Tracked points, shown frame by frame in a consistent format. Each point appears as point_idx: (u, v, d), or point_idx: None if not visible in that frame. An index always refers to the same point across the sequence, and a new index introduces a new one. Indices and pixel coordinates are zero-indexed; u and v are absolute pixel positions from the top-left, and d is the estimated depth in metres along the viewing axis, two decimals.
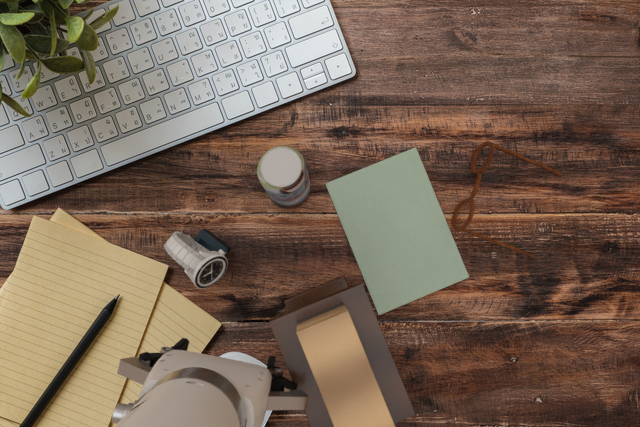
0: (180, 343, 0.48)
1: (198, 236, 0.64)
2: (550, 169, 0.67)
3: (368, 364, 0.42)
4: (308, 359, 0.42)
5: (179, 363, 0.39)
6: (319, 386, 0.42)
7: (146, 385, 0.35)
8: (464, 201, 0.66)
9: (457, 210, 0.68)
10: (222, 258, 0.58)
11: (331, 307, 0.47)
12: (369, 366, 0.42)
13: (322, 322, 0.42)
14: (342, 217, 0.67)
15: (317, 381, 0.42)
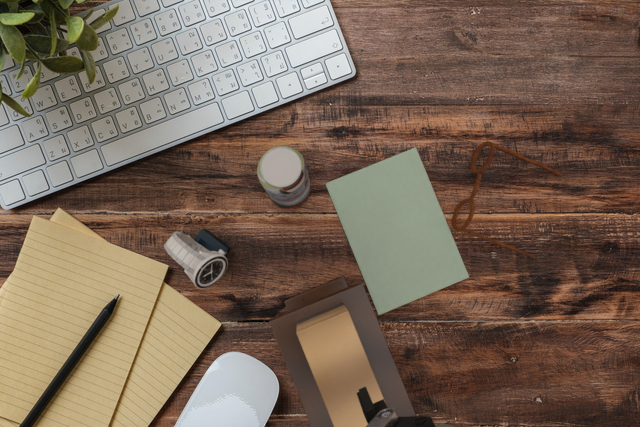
0: None
1: (198, 236, 0.64)
2: (550, 169, 0.67)
3: (368, 364, 0.42)
4: (308, 359, 0.42)
5: None
6: (319, 386, 0.42)
7: None
8: (464, 201, 0.66)
9: (457, 210, 0.68)
10: (222, 258, 0.58)
11: (331, 307, 0.47)
12: (369, 366, 0.42)
13: (322, 322, 0.42)
14: (342, 217, 0.67)
15: (317, 381, 0.42)
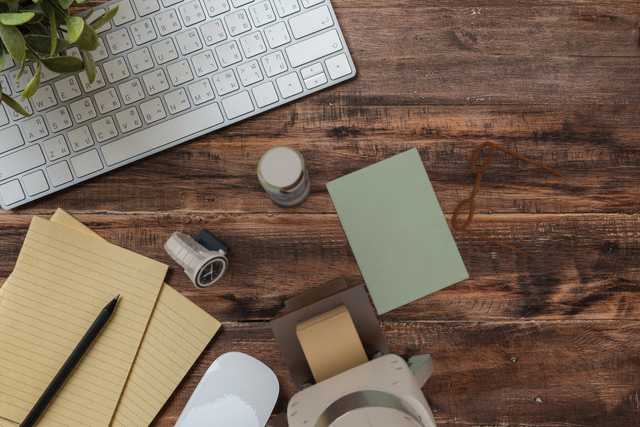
0: (310, 374, 0.44)
1: (198, 236, 0.64)
2: (550, 169, 0.67)
3: None
4: (308, 359, 0.42)
5: (312, 406, 0.34)
6: None
7: None
8: (464, 201, 0.66)
9: (457, 210, 0.68)
10: (222, 258, 0.58)
11: (331, 307, 0.47)
12: None
13: (322, 322, 0.42)
14: (342, 217, 0.67)
15: (317, 381, 0.42)
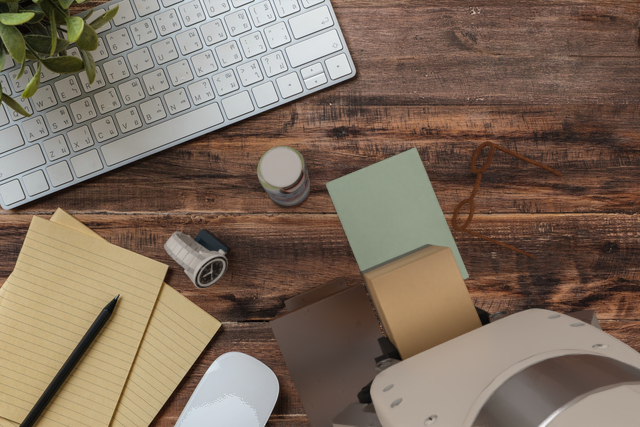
0: (388, 345, 0.29)
1: (198, 236, 0.64)
2: (550, 169, 0.67)
3: None
4: (389, 321, 0.27)
5: (431, 389, 0.19)
6: None
7: None
8: (464, 201, 0.66)
9: (457, 210, 0.68)
10: (222, 258, 0.58)
11: (411, 250, 0.32)
12: None
13: (410, 264, 0.27)
14: (342, 217, 0.67)
15: (403, 355, 0.27)
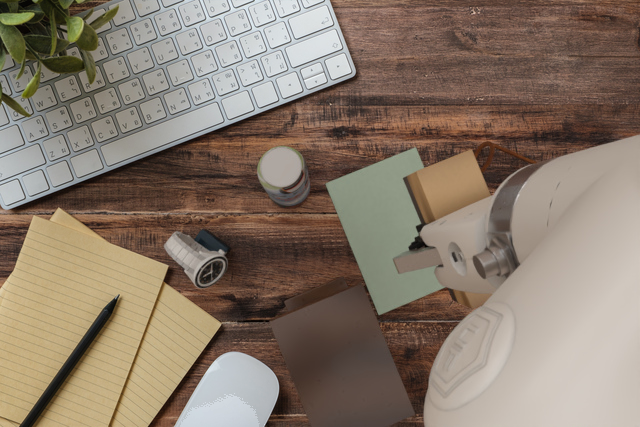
0: (426, 224, 0.40)
1: (198, 236, 0.64)
2: None
3: None
4: (429, 200, 0.39)
5: (465, 210, 0.30)
6: None
7: (475, 230, 0.26)
8: None
9: None
10: (222, 258, 0.58)
11: None
12: None
13: (444, 161, 0.39)
14: (342, 217, 0.67)
15: None
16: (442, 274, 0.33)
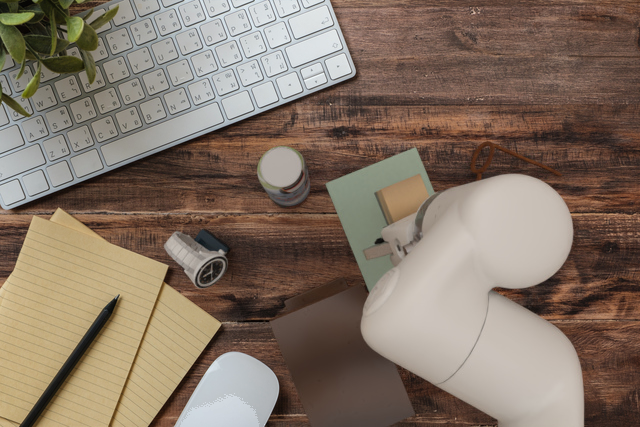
0: None
1: (198, 236, 0.64)
2: (550, 169, 0.67)
3: None
4: (390, 210, 0.55)
5: (406, 218, 0.47)
6: None
7: (406, 231, 0.43)
8: None
9: None
10: (222, 258, 0.58)
11: None
12: None
13: (400, 182, 0.55)
14: (342, 217, 0.67)
15: None
16: (393, 260, 0.49)
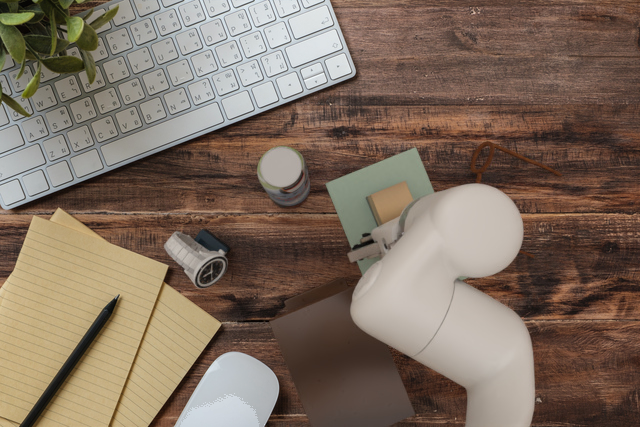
0: (366, 233, 0.63)
1: (198, 236, 0.64)
2: (550, 169, 0.67)
3: None
4: (378, 212, 0.63)
5: (392, 220, 0.54)
6: None
7: (392, 231, 0.50)
8: None
9: None
10: (222, 258, 0.58)
11: None
12: None
13: (388, 188, 0.63)
14: (342, 217, 0.67)
15: None
16: (381, 257, 0.56)
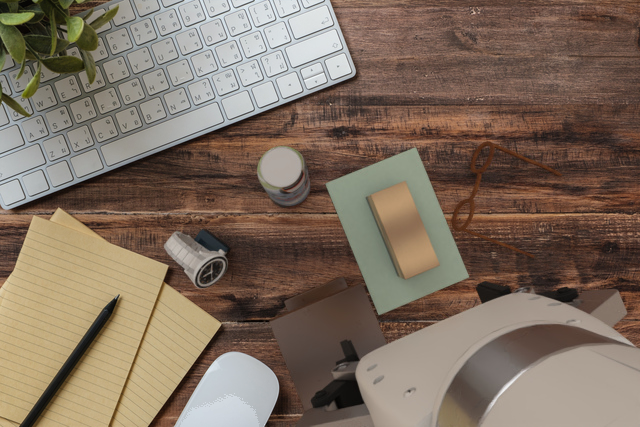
0: (348, 349, 0.28)
1: (198, 236, 0.64)
2: (550, 169, 0.67)
3: (419, 216, 0.63)
4: (378, 212, 0.63)
5: (411, 366, 0.20)
6: (386, 230, 0.63)
7: None
8: (464, 201, 0.66)
9: (457, 210, 0.68)
10: (222, 258, 0.58)
11: None
12: (419, 218, 0.63)
13: (388, 188, 0.63)
14: (342, 217, 0.67)
15: (385, 227, 0.63)
16: None
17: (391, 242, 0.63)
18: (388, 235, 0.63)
